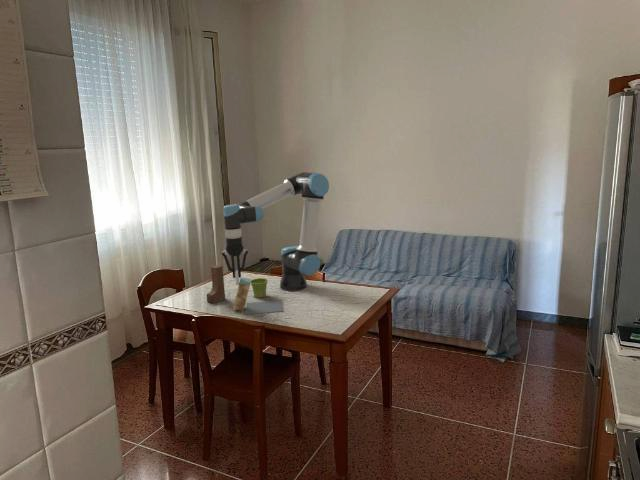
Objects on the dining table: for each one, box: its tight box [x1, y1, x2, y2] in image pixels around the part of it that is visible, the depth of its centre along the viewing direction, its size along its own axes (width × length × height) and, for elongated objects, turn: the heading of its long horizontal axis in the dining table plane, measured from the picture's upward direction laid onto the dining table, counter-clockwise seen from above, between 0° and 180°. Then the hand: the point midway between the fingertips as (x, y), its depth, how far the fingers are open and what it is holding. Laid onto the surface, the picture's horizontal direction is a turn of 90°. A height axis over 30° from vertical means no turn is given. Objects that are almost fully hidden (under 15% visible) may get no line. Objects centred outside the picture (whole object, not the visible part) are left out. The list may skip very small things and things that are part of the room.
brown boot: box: [206, 264, 226, 304], centre depth 245 cm, size 9×4×18 cm, turn 145°
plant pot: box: [250, 277, 269, 299], centre depth 250 cm, size 9×9×9 cm
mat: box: [245, 299, 284, 315], centre depth 233 cm, size 18×16×1 cm
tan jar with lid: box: [232, 276, 252, 312], centre depth 230 cm, size 5×5×15 cm
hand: (237, 284), depth 229 cm, fingers closed
